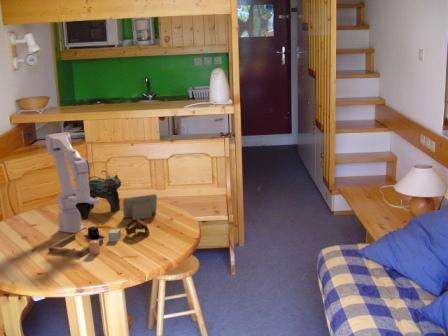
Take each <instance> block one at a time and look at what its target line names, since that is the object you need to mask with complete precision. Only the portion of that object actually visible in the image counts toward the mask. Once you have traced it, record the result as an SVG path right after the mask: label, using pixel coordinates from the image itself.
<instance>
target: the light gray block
mask: <svg viewBox="0 0 448 336" xmlns="http://www.w3.org/2000/svg"><path fill="white" fill-rule="evenodd" d="M107 235H108V242H115V243H117V242H120V240H121V239H122V234H121V229H115V228H114V229H111V228H110V230H109V231H108V233H107Z"/></svg>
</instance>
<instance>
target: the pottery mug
mask: <svg viewBox="0 0 448 336" xmlns="http://www.w3.org/2000/svg"><path fill="white" fill-rule="evenodd" d="M132 225H133V226H132ZM124 230H125V231H126V235H127V236H129V235H132V234H135V235H136V234H137V230H139V231H140V230H144V232H145V233H146V234H147V236H148V237H149V236H150V233H151V232H150V229H149V227H148V226H147V223H146V222H145V218H144V219H143V218H138V219H133V218H132V220H129V222H128V223H127V224H126V226H125V227H124Z"/></svg>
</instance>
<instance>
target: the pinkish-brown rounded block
mask: <svg viewBox="0 0 448 336" xmlns="http://www.w3.org/2000/svg"><path fill="white" fill-rule="evenodd" d="M88 245H89V250H90V252H89V255H90V256H98V255H100V253H101V251H100V246H99V241H98V240H90V241H88Z"/></svg>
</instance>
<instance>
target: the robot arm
mask: <svg viewBox="0 0 448 336" xmlns="http://www.w3.org/2000/svg"><path fill="white" fill-rule="evenodd" d="M45 146H46V149H47V152H48V154H49V155H51V156H52V158H53V160H54V164H55V168H56V171H57V175H58V179H59V180H58V181H59V184H60V187H61V192H60V193H58V195H57V199H56V200H57V205H58V206H57V207H58V210H59V211H58V215H57V221H58V232H64V233H71V234H77V233H78V232H80V231H82V230H84V229H85V228H87V227H86V226H85V225H82V220H83V221H85V220H88V219H89V215H90V210H91V209H90V208H91V206H92V204H94V206H98V205H100V198H99V199H97V198H92V197H90V189H89V180H90V179H89V173H90V170H91V168H90V167H91V166H90V163H89V160H88V159H87V158H83V157H82V156H81V154H80V153H79V151H78V150H76V149H74V148H73V146H72V137H71V134H70V133H69V132H68V131H65V132H60V133H58V132H57V133H52V134H46V135H45ZM68 164H69V166H70V170H71V174H72V179H74V187H73V182H72V179H71V176H70V172H69V168H68ZM81 219H82V220H81Z"/></svg>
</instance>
